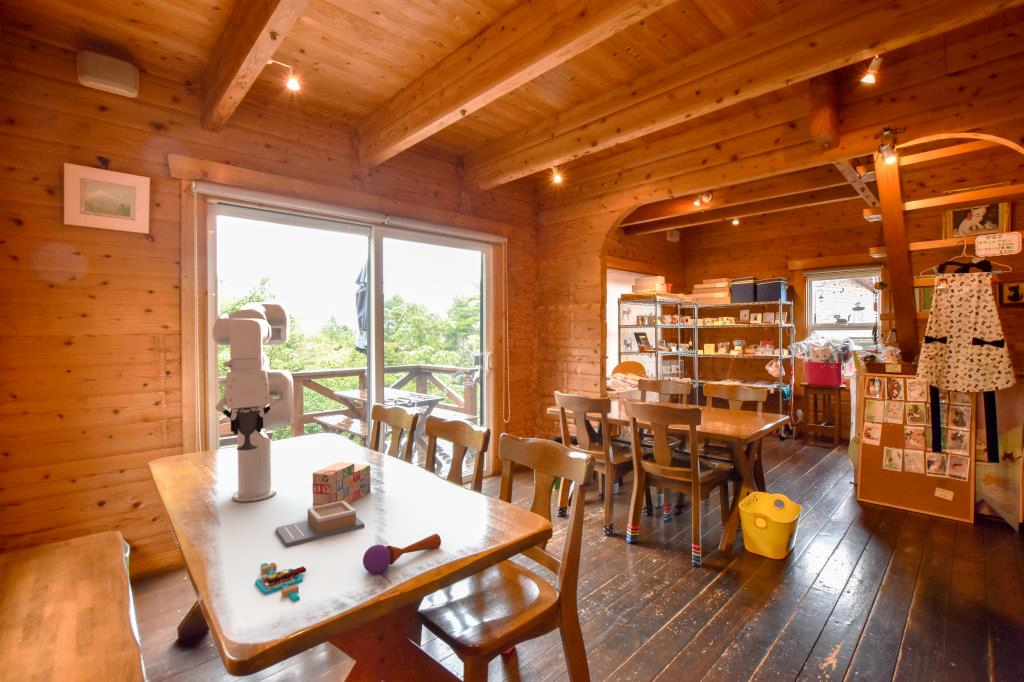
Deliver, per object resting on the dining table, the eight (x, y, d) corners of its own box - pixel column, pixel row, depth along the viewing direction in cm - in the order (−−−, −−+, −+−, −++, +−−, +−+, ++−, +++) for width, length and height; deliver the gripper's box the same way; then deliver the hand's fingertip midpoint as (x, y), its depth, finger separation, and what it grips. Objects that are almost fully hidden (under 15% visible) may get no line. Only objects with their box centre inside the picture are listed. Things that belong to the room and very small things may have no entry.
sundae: (267, 446, 130) (267, 391, 130) (246, 452, 124) (246, 394, 124) (248, 444, 132) (248, 390, 132) (227, 449, 126) (227, 393, 126)
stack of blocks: (354, 490, 163) (354, 454, 163) (371, 492, 161) (370, 455, 161) (312, 513, 142) (312, 472, 142) (330, 515, 141) (330, 474, 140)
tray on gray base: (275, 531, 129) (275, 513, 129) (349, 514, 141) (349, 497, 141) (286, 547, 120) (286, 528, 119) (364, 527, 132) (364, 509, 132)
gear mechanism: (288, 560, 114) (245, 574, 107) (288, 537, 114) (244, 550, 107) (323, 593, 100) (275, 611, 93) (323, 567, 99) (275, 584, 93)
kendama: (446, 535, 118) (374, 556, 103) (442, 557, 118) (369, 582, 104) (431, 524, 122) (360, 543, 107) (427, 546, 122) (356, 568, 108)
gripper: (210, 367, 119) (211, 439, 120) (284, 364, 130) (284, 431, 130) (207, 365, 125) (208, 434, 126) (277, 362, 136) (278, 426, 136)
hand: (247, 431), depth 128 cm, fingers closed on sundae, 4 cm apart
